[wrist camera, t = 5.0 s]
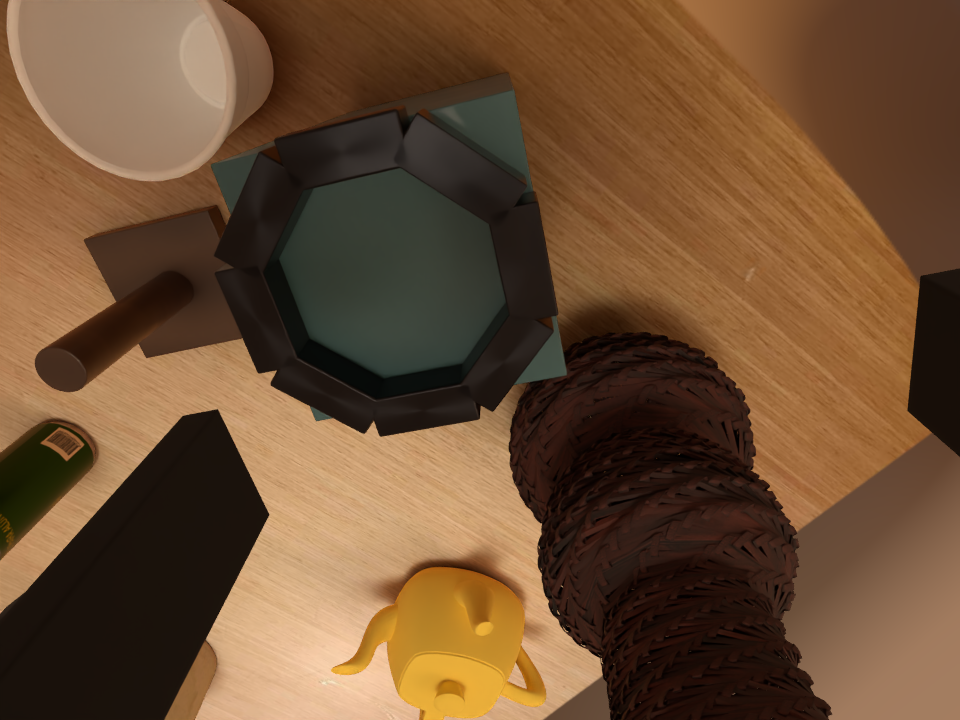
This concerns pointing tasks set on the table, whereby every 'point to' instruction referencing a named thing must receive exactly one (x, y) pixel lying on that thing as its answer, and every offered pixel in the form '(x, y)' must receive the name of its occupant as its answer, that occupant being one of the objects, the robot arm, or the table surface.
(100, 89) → the cup
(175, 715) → the lidded mug
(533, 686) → the teapot
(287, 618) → the table surface
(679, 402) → the vase
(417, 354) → the stand
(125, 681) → the robot arm
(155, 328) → the holder
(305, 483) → the table surface
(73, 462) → the beer can
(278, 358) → the ring
